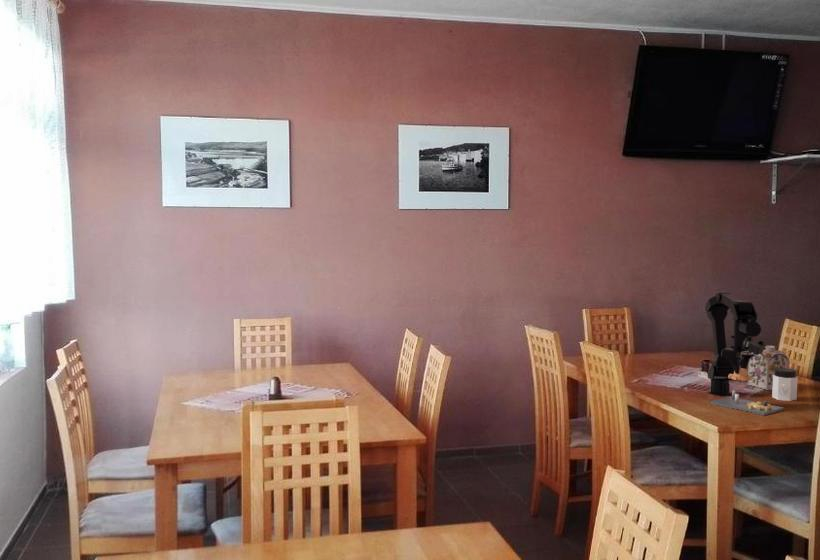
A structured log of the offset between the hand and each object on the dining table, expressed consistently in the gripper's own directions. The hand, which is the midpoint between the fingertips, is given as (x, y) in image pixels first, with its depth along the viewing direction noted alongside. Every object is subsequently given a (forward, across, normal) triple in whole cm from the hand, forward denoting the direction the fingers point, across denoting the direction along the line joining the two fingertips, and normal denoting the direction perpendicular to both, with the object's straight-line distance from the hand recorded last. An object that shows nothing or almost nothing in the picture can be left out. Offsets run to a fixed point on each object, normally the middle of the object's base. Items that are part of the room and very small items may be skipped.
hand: (740, 372), depth 290 cm
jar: (+13, +25, -5) cm, 29 cm away
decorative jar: (+13, +42, +11) cm, 45 cm away
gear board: (+13, -1, -3) cm, 13 cm away
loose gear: (+2, 0, 0) cm, 2 cm away
